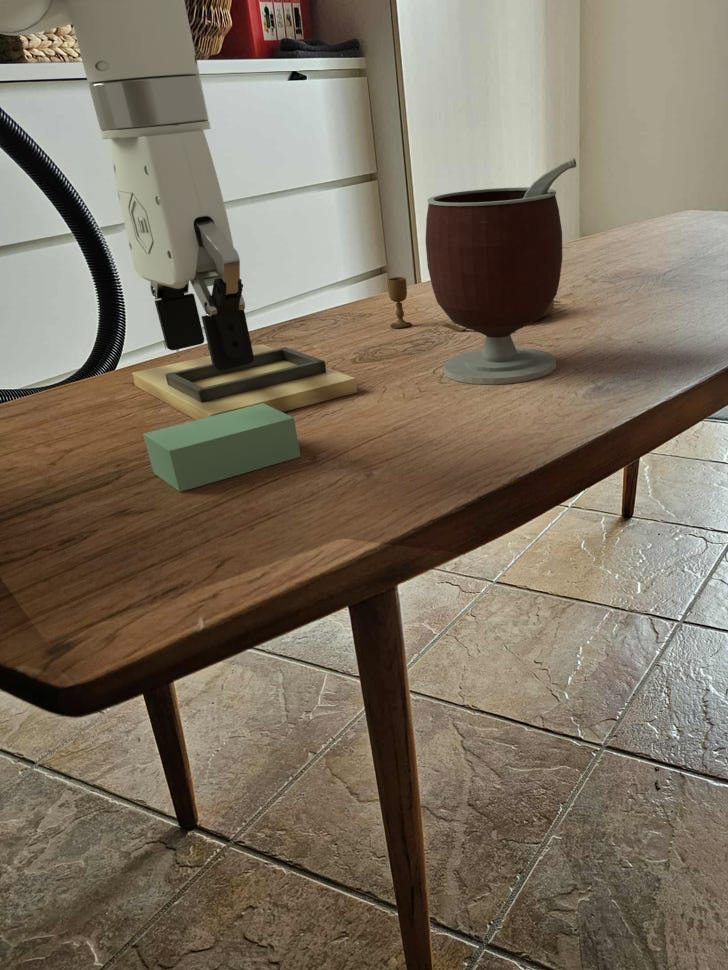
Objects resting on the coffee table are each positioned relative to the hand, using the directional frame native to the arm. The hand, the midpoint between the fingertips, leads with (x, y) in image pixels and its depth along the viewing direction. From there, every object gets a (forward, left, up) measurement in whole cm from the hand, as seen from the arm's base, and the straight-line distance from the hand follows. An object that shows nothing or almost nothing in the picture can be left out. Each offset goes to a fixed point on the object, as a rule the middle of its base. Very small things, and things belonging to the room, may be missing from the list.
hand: (209, 355), depth 72 cm
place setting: (+49, +28, -9) cm, 57 cm away
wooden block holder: (+11, +21, -9) cm, 25 cm away
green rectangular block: (0, 0, -9) cm, 9 cm away
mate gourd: (+35, +5, -9) cm, 36 cm away
